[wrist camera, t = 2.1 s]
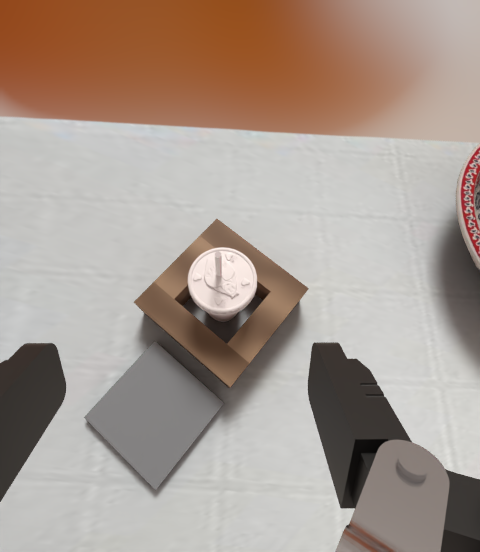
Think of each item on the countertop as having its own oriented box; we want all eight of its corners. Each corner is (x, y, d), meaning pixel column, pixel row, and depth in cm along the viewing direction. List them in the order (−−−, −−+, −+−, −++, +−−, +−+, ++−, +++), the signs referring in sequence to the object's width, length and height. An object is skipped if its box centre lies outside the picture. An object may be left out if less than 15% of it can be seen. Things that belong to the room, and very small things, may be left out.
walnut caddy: (229, 388, 36) (230, 387, 31) (144, 312, 38) (133, 302, 34) (299, 300, 39) (308, 288, 35) (217, 236, 42) (216, 218, 38)
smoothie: (229, 271, 40) (231, 209, 27) (261, 312, 39) (279, 268, 25) (185, 300, 39) (164, 251, 26) (216, 344, 37) (212, 315, 24)
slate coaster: (157, 487, 32) (155, 490, 31) (87, 416, 34) (84, 417, 33) (224, 403, 35) (224, 403, 34) (156, 342, 37) (154, 340, 36)
